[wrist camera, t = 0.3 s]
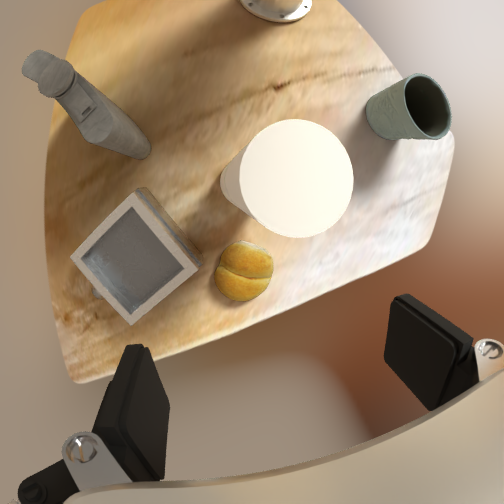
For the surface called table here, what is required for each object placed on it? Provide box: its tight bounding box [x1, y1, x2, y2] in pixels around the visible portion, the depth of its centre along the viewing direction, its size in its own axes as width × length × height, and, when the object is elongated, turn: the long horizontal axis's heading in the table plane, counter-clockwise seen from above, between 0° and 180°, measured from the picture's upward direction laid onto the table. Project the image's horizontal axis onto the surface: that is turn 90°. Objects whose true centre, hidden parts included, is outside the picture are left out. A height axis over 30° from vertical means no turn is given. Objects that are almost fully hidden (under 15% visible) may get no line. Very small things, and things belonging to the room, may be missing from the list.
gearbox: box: [70, 188, 203, 326], centre depth 36 cm, size 16×13×8 cm
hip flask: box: [22, 50, 151, 159], centre depth 25 cm, size 16×4×20 cm, turn 45°
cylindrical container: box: [220, 119, 353, 238], centre depth 28 cm, size 7×7×25 cm
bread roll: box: [214, 240, 273, 301], centre depth 41 cm, size 8×9×4 cm
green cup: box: [366, 73, 452, 140], centre depth 35 cm, size 10×10×12 cm
